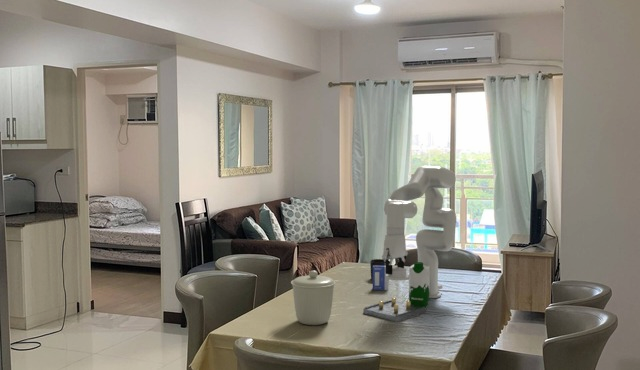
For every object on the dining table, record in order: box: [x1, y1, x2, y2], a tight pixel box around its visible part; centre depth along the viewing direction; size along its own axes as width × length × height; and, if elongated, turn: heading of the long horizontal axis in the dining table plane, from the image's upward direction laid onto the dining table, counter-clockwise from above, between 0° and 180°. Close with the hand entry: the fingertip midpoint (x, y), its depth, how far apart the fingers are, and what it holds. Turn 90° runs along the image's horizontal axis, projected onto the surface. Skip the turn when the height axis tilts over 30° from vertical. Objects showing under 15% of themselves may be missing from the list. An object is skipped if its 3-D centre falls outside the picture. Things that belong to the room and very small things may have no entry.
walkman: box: [372, 266, 389, 291], centre depth 310 cm, size 8×3×12 cm, turn 86°
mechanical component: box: [386, 266, 409, 281], centre depth 265 cm, size 10×4×10 cm
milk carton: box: [408, 261, 430, 309], centre depth 277 cm, size 9×9×20 cm
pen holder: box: [370, 258, 386, 281], centre depth 332 cm, size 9×9×10 cm
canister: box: [290, 270, 336, 326], centre depth 253 cm, size 18×18×21 cm
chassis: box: [362, 297, 427, 323], centre depth 267 cm, size 20×18×5 cm
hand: (394, 272), depth 266 cm, fingers closed on mechanical component, 7 cm apart
